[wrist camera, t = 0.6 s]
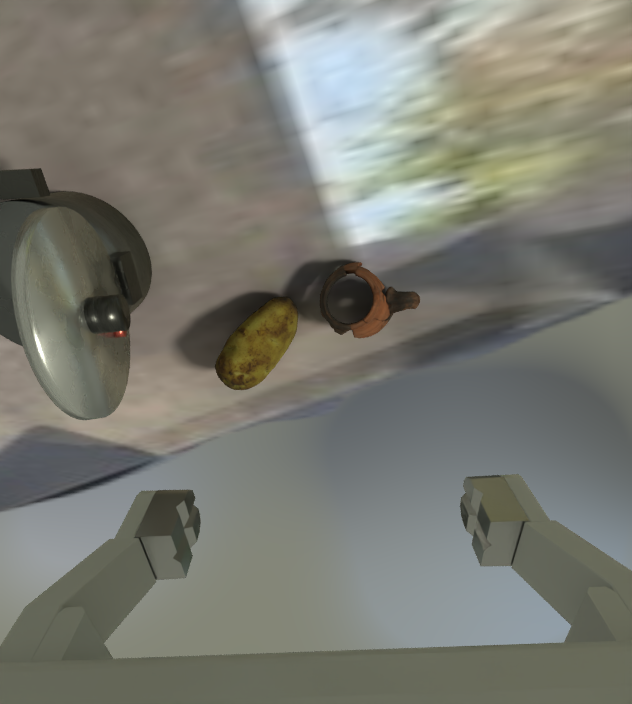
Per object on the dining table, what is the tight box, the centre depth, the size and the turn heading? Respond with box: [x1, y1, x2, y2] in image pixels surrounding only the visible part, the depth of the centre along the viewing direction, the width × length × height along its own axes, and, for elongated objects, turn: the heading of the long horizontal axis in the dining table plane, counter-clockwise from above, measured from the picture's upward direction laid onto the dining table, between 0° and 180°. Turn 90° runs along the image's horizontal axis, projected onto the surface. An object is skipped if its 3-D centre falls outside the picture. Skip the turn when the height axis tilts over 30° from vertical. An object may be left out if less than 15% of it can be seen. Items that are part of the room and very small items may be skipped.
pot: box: [0, 168, 152, 346], centre depth 44 cm, size 21×17×10 cm
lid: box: [11, 207, 130, 420], centre depth 31 cm, size 17×17×3 cm
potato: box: [215, 297, 298, 390], centre depth 49 cm, size 8×13×8 cm, turn 121°
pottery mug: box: [320, 262, 420, 338], centre depth 48 cm, size 12×9×8 cm
